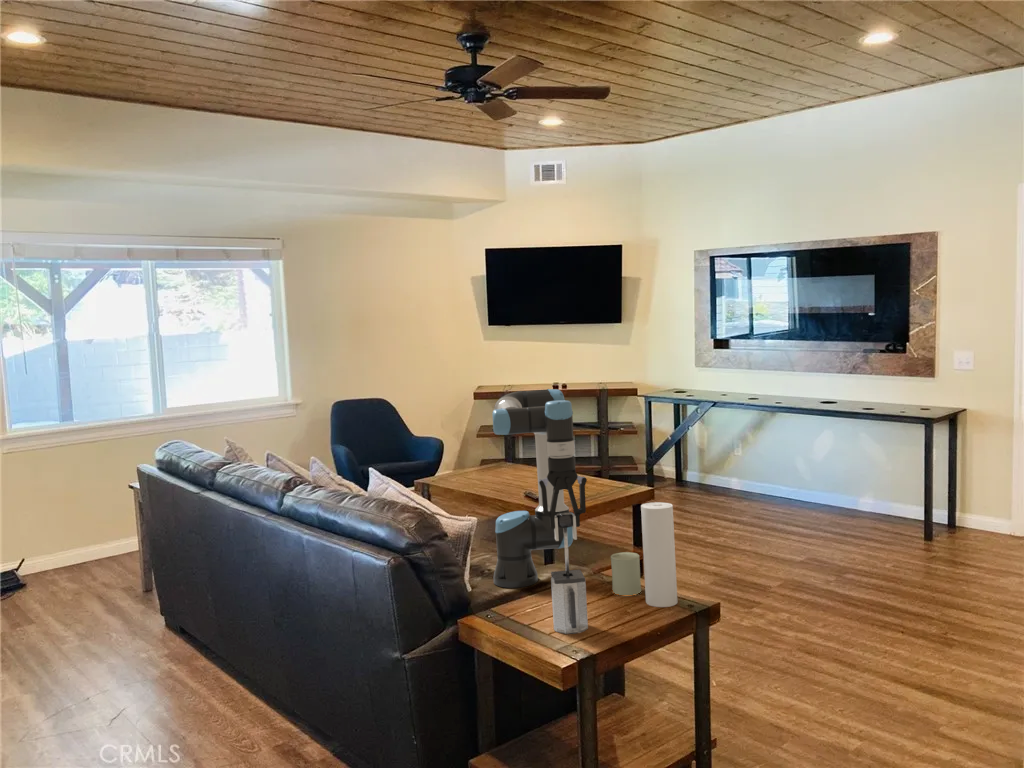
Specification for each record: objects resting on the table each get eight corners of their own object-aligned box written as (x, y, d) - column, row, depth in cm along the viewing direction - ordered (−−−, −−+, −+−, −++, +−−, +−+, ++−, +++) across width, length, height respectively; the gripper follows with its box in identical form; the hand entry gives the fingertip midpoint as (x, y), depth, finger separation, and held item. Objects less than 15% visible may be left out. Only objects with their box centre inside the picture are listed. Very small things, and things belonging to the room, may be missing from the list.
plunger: (555, 582, 217) (551, 512, 216) (578, 580, 218) (574, 511, 217) (558, 589, 211) (554, 517, 210) (581, 587, 211) (577, 516, 210)
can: (612, 587, 248) (610, 550, 248) (641, 587, 247) (639, 550, 246) (612, 596, 239) (610, 558, 239) (642, 596, 238) (640, 558, 237)
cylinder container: (677, 607, 226) (672, 506, 225) (645, 606, 228) (640, 507, 227) (677, 596, 235) (672, 500, 234) (646, 596, 237) (641, 500, 236)
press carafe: (551, 622, 219) (548, 571, 218) (584, 620, 220) (582, 568, 219) (557, 639, 207) (554, 584, 206) (592, 636, 207) (589, 581, 207)
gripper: (531, 460, 208) (536, 544, 209) (594, 455, 209) (599, 540, 210) (528, 456, 216) (533, 538, 217) (589, 452, 217) (594, 533, 218)
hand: (565, 538), depth 213 cm, fingers closed on plunger, 4 cm apart
